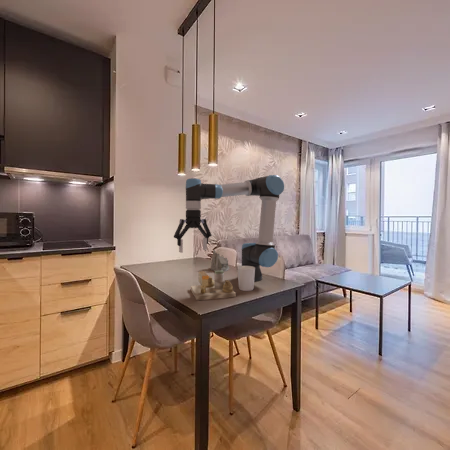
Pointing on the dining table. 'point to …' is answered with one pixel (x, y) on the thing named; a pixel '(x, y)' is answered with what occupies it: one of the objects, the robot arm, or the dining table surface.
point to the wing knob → (203, 280)
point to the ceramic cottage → (219, 262)
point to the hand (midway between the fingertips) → (193, 251)
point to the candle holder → (246, 278)
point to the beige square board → (214, 288)
